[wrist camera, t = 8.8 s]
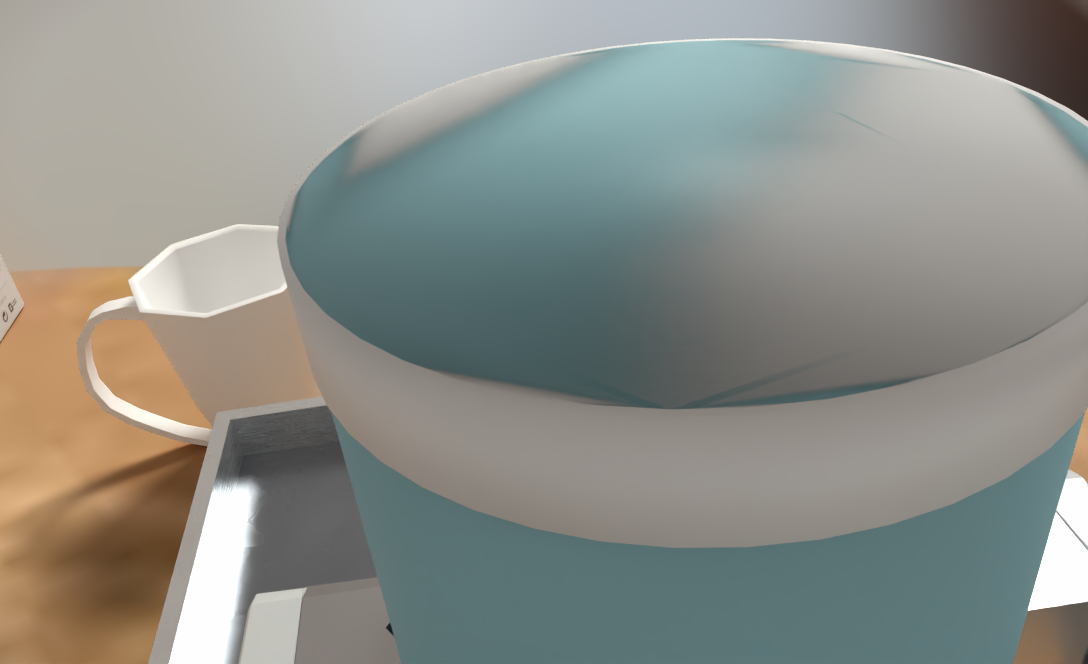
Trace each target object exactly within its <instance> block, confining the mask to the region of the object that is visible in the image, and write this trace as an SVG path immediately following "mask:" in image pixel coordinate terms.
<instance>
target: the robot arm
mask: <svg viewBox="0 0 1088 664" xmlns="http://www.w3.org/2000/svg"><path fill="white" fill-rule="evenodd" d="M238 664H402V663H401V660H400V656H399V652H398V649H397V645H396V642H395V638H394V635H393V631H392V627H391V624H390V620H389V617H388V613H387V610H386V606H385V602H384V599H383V595H382V592H381V588H380V584H379V581H378V577H376V578H369V579H361V580H353V581H345V582H338V583H330V584H322V585H314V586H308V587H305V588H298V589H290V590H283V591H275V592H268V593H260V594H256V596H255V598H254V600H253V601H252V603H251V605H250V607H249V609H248V614H247V620H246V625H245V630H244V636H243V641H242V646H241V652H240V657H239V662H238ZM1013 664H1088V483H1087V482H1086V481H1085V480H1084V479H1083V478H1082V477H1081V476H1080V475H1079V474H1077V473H1075V472H1073V471H1071V470H1069V469H1068V472H1067V476H1066V479H1065V483H1064V486H1063V490H1062V493H1061V497H1060V500H1059V504H1058V507H1057V511H1056V514H1055V518H1054V521H1053V525H1052V528H1051V532H1050V535H1049V539H1048V542H1047V546H1046V549H1045V553H1044V556H1043V560H1042V563H1041V567H1040V570H1039V573H1038V577H1037V580H1036V584H1035V587H1034V591H1033V594H1032V598H1031V601H1030V605H1029V608H1028V612H1027V615H1026V619H1025V622H1024V626H1023V629H1022V633H1021V636H1020V640H1019V643H1018V647H1017V650H1016V654H1015V657H1014V661H1013Z"/></svg>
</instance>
